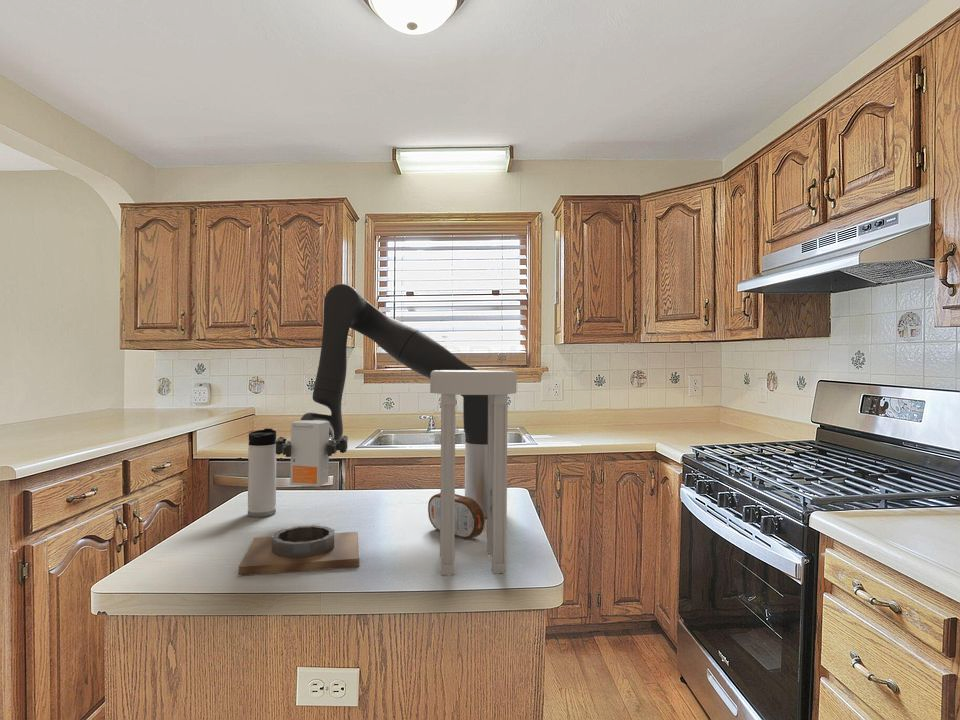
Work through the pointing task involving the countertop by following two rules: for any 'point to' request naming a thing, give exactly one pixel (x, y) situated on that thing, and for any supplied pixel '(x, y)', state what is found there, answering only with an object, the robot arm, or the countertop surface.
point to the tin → (459, 516)
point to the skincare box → (309, 453)
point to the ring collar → (289, 548)
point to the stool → (497, 391)
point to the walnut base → (267, 562)
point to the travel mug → (262, 473)
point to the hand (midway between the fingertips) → (309, 450)
